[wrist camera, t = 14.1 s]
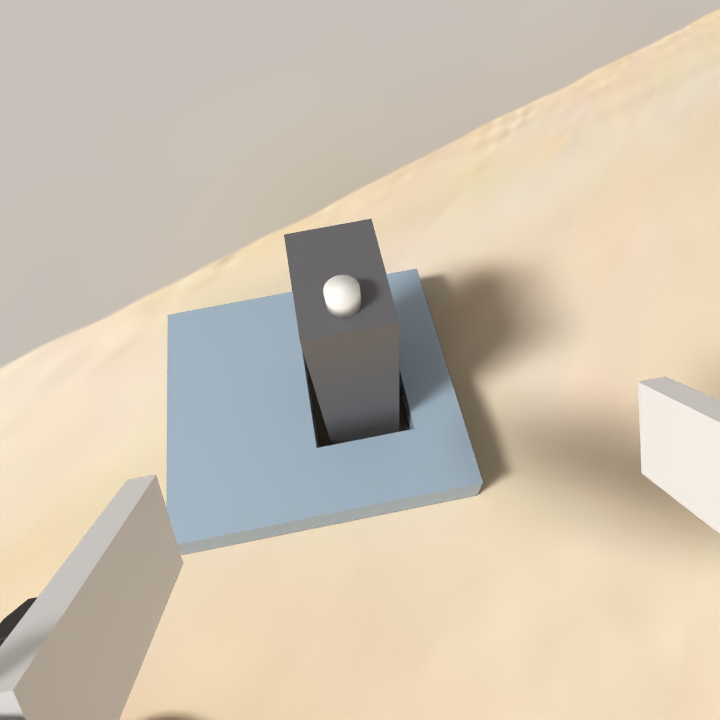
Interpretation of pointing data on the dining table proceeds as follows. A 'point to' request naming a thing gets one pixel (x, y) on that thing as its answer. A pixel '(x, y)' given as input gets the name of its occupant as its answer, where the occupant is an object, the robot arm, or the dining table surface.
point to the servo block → (347, 328)
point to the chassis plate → (298, 428)
